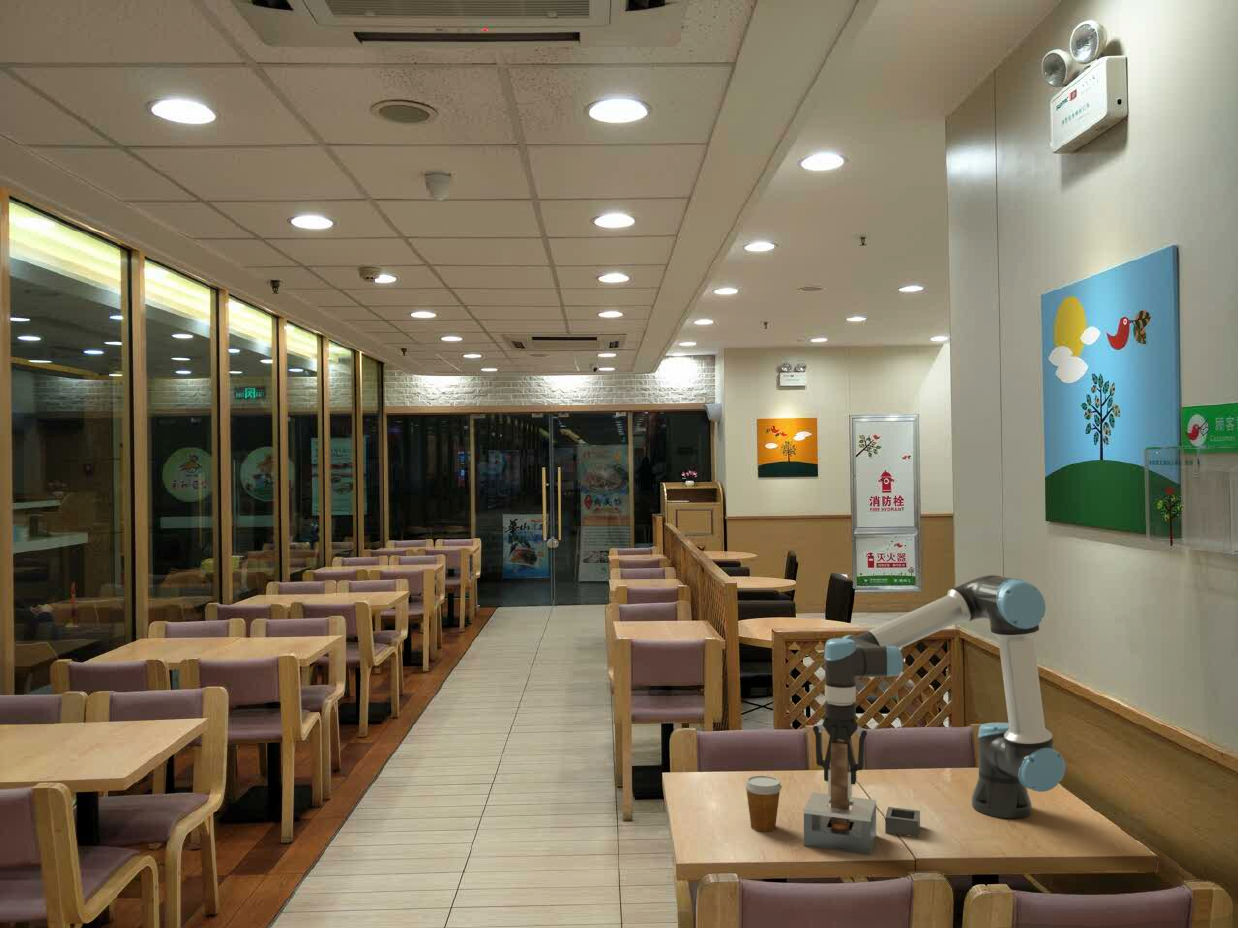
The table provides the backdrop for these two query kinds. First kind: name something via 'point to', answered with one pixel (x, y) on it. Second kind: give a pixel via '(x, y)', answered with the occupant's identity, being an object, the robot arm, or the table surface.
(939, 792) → the table surface
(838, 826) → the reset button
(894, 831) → the gray square socket
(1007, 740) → the robot arm
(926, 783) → the table surface
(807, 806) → the box
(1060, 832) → the table surface
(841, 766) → the brown wooden bar
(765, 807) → the disposable coffee cup
